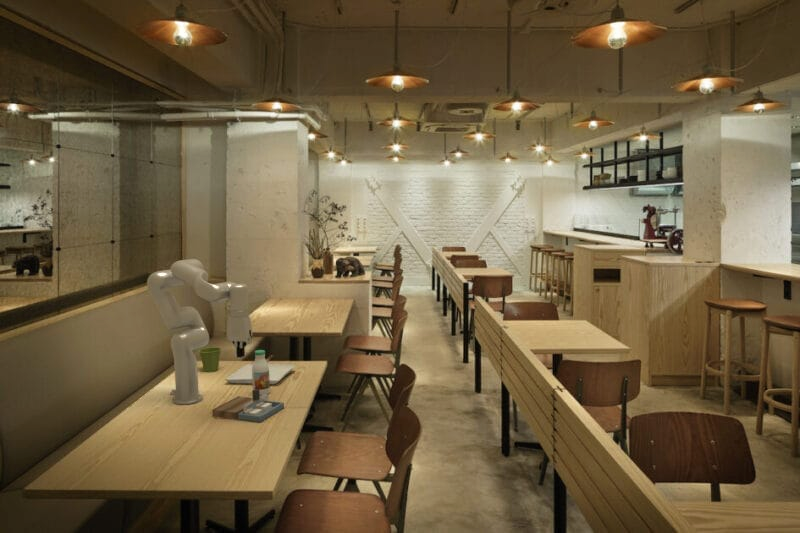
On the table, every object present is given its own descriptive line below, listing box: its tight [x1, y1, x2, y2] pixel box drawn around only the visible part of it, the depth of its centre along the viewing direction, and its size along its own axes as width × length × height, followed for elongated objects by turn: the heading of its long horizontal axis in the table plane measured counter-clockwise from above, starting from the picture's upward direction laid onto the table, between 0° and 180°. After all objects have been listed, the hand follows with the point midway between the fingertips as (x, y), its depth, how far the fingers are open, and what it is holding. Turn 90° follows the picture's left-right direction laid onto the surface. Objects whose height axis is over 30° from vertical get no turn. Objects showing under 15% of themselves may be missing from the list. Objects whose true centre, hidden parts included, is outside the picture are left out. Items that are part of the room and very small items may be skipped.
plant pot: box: [197, 346, 222, 373], centre depth 316 cm, size 12×12×11 cm
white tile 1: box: [245, 409, 262, 416], centre depth 245 cm, size 5×5×2 cm
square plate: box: [224, 363, 296, 385], centre depth 301 cm, size 27×27×4 cm
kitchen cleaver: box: [265, 354, 275, 363], centre depth 332 cm, size 24×1×10 cm
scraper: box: [243, 389, 270, 412], centre depth 248 cm, size 2×16×7 cm, turn 160°
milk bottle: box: [251, 349, 271, 396], centre depth 275 cm, size 8×8×20 cm
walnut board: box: [211, 396, 253, 421], centre depth 252 cm, size 12×18×3 cm, turn 160°
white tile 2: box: [255, 403, 272, 412], centre depth 252 cm, size 5×5×2 cm
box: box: [237, 400, 285, 423], centre depth 248 cm, size 11×18×2 cm, turn 160°
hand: (240, 356), depth 250 cm, fingers closed
